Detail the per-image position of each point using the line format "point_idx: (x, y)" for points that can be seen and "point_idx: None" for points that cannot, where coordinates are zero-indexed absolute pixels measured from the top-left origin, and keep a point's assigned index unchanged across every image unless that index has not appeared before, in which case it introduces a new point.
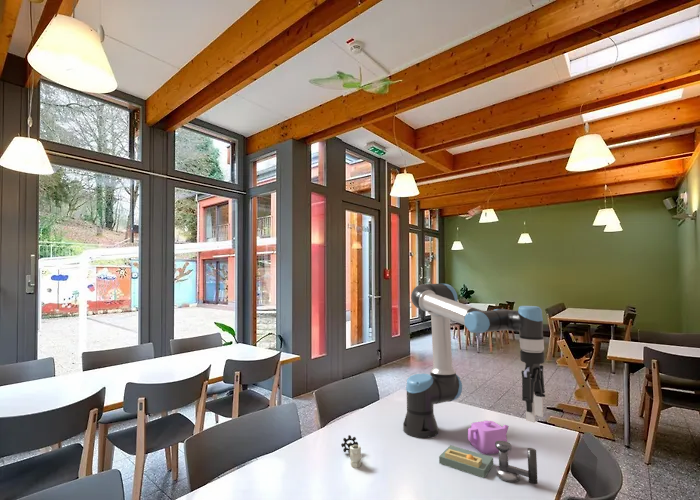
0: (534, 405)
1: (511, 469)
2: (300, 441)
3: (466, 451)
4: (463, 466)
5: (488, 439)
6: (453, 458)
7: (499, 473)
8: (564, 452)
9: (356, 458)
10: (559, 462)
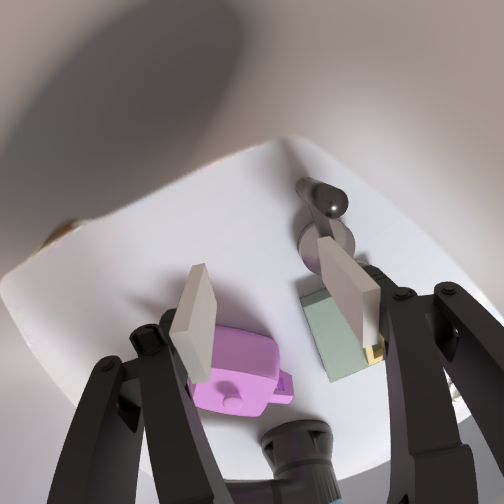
0: (356, 279)
1: (334, 239)
2: None
3: (330, 352)
4: None
5: (266, 358)
6: None
7: (353, 252)
8: (74, 244)
9: None
10: (129, 219)
